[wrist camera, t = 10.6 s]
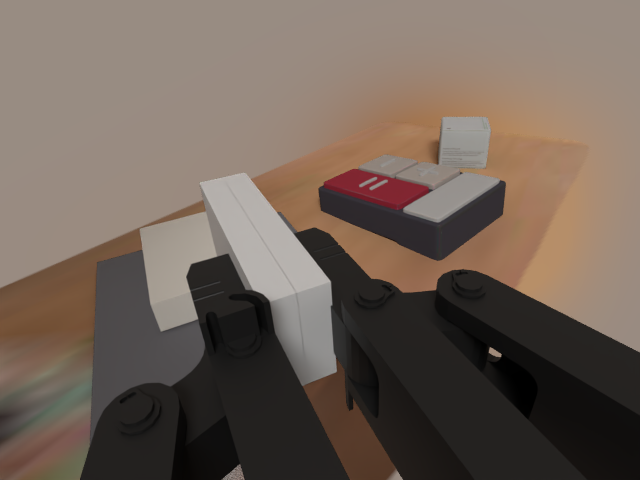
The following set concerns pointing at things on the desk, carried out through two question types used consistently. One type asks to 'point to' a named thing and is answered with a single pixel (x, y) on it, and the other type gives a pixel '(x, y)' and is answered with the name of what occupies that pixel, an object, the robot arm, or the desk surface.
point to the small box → (464, 142)
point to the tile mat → (136, 335)
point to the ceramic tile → (174, 265)
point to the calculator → (415, 203)
